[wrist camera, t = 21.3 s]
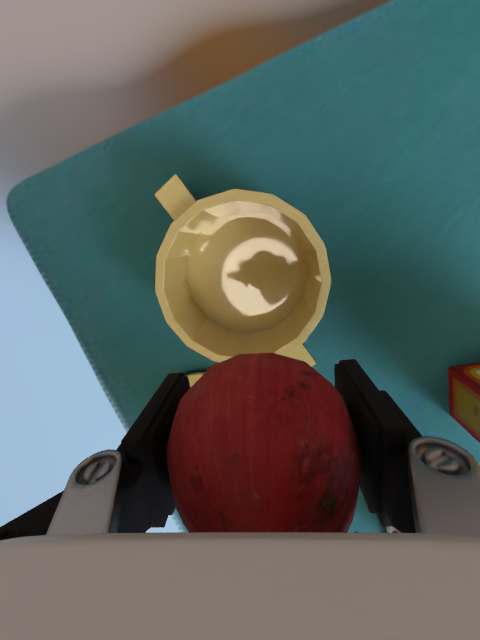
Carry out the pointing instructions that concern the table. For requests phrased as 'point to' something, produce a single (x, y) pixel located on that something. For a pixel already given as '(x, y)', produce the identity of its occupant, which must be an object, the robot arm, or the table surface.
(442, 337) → the table surface
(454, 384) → the baking soda box
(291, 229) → the pot
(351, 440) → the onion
